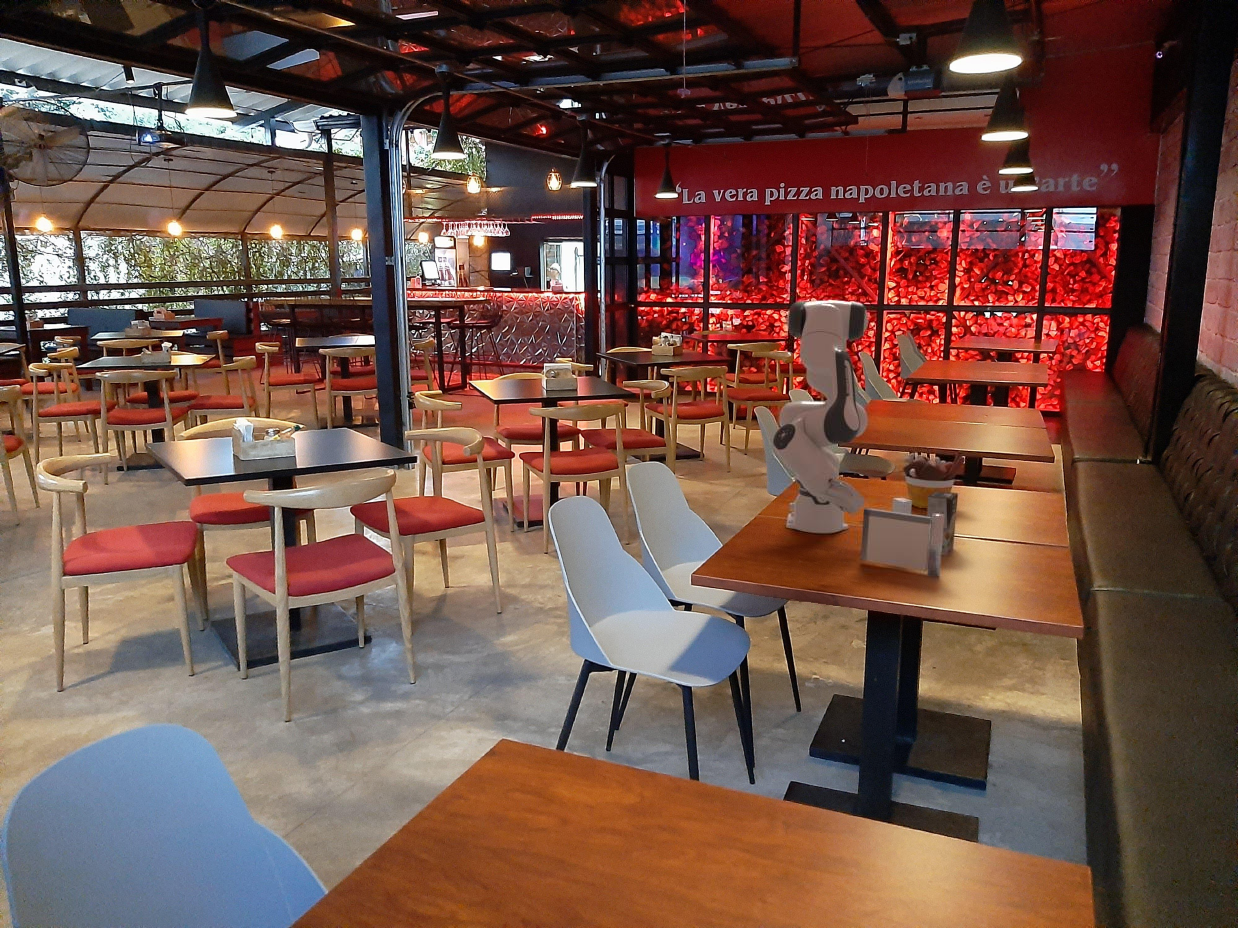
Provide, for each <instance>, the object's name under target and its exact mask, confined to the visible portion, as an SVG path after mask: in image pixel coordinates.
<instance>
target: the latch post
mask: <svg viewBox="0 0 1238 928" xmlns="http://www.w3.org/2000/svg"><path fill="white" fill-rule="evenodd" d="M912 507H913V506H912V501H911V500H909V499H907V498H904V497H895V498H893V499H892V508H891V509H892V511H891V512H898V513H905V514H912Z"/></svg>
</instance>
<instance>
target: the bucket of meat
mask: <svg viewBox="0 0 1238 928" xmlns="http://www.w3.org/2000/svg"><path fill="white" fill-rule="evenodd" d="M915 456H916V454H915V452H912V453H910V454H909V455H908V457H907V456H905V457H903V458H902V463H907V464H905V466H903V468H902V470H903V471H904V474H905V481H906V487H907V488H906V489H907V494H908V500H911V501H912V505H914V506H916V507H921V508H926V509H925V510H927V509H928V496H929V495H931V494H932V493H934V492H935V491H940V492H951V493H952V489H953V486H954V484H955V479H956V478H955V477H956V475H957V472H958V471H959V469H961V467H962V465H963V464H964V463H965V461H966V459H965V457H964V451H963V450H958V451H957V452H956V455H955V458H954V460H953V462H952V461H945V460H941V458H940V457H939V456H936V457H934V459H931V458H930V457H927V456H926V455H922V454H918V455H917V456H916V458H915ZM914 458H915V459H914ZM914 506H913V507H914ZM916 507H915V508H916ZM921 508H920V509H921Z"/></svg>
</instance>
